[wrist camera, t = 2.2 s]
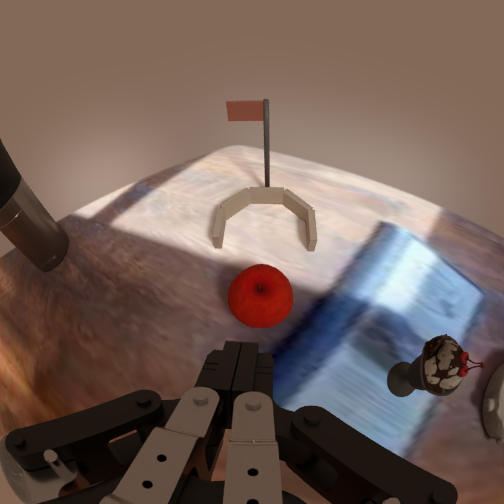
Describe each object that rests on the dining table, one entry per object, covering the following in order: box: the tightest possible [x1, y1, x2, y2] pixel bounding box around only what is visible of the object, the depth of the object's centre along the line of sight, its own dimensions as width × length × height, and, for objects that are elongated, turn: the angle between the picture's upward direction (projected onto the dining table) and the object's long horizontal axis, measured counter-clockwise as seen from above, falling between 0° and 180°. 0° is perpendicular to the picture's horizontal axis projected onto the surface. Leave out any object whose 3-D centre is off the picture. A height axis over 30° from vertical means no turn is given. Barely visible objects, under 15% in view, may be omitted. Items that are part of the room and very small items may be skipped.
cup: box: [212, 99, 317, 251], centre depth 37 cm, size 13×15×18 cm
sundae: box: [388, 334, 484, 397], centre depth 23 cm, size 7×7×15 cm
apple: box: [228, 264, 293, 328], centre depth 33 cm, size 8×8×7 cm
